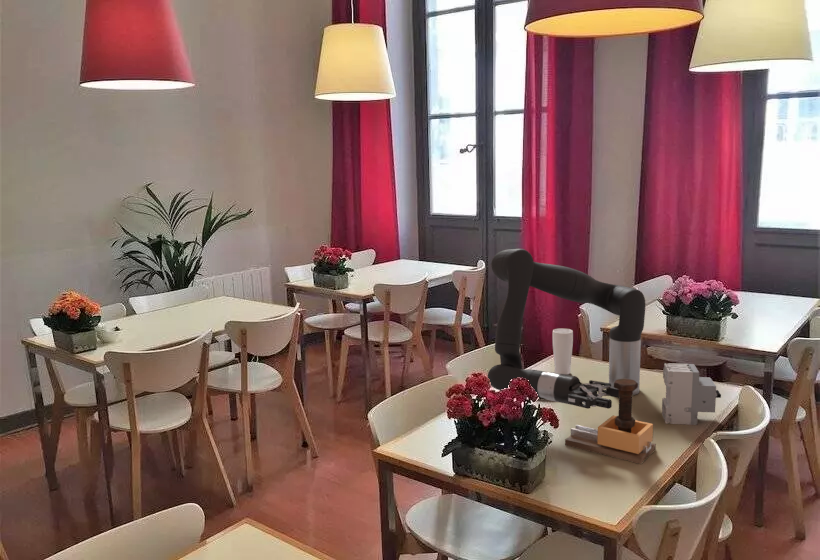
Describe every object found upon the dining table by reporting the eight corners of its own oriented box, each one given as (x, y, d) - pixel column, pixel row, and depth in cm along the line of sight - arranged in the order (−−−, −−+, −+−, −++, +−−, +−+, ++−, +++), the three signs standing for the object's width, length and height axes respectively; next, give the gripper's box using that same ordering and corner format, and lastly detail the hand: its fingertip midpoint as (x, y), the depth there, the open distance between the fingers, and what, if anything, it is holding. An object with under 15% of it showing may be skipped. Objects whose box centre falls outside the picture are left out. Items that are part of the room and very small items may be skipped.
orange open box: (612, 431, 182) (612, 415, 182) (652, 440, 176) (653, 423, 175) (597, 444, 175) (597, 427, 174) (638, 454, 169) (639, 436, 168)
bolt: (608, 436, 177) (610, 379, 174) (624, 432, 179) (626, 376, 176) (624, 444, 172) (625, 386, 169) (640, 440, 174) (642, 383, 171)
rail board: (581, 432, 188) (581, 426, 188) (655, 449, 176) (655, 444, 176) (565, 444, 181) (565, 439, 180) (640, 464, 168) (641, 458, 168)
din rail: (576, 430, 186) (576, 424, 185) (651, 448, 173) (651, 441, 173) (570, 435, 183) (570, 428, 183) (646, 453, 171) (646, 446, 170)
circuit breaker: (721, 425, 189) (723, 373, 187) (665, 423, 192) (667, 371, 190) (714, 415, 197) (717, 364, 194) (661, 413, 200) (663, 363, 197)
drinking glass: (552, 376, 235) (552, 333, 233) (552, 370, 242) (552, 328, 239) (573, 376, 234) (573, 333, 231) (572, 370, 241) (572, 328, 238)
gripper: (546, 381, 179) (606, 393, 169) (570, 367, 190) (628, 377, 180) (546, 409, 180) (606, 422, 170) (570, 393, 191) (628, 404, 181)
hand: (617, 399), depth 175 cm, fingers open, 8 cm apart
